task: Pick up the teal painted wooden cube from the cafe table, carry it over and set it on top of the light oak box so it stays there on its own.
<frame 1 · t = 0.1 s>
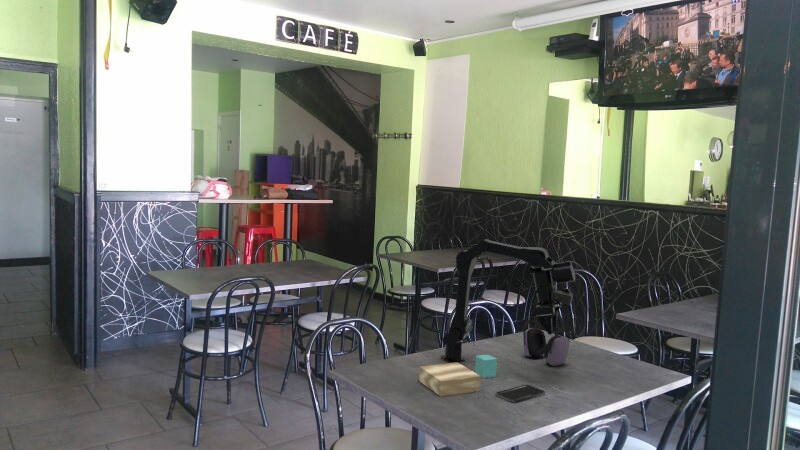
hand: (552, 331, 193), 15 cm above the table, tool pointing down, fingers open, 9 cm apart
headphones: (544, 361, 212), on the table
oak box: (448, 386, 181), on the table
phone: (520, 396, 176), on the table
teal cube: (485, 374, 193), on the table
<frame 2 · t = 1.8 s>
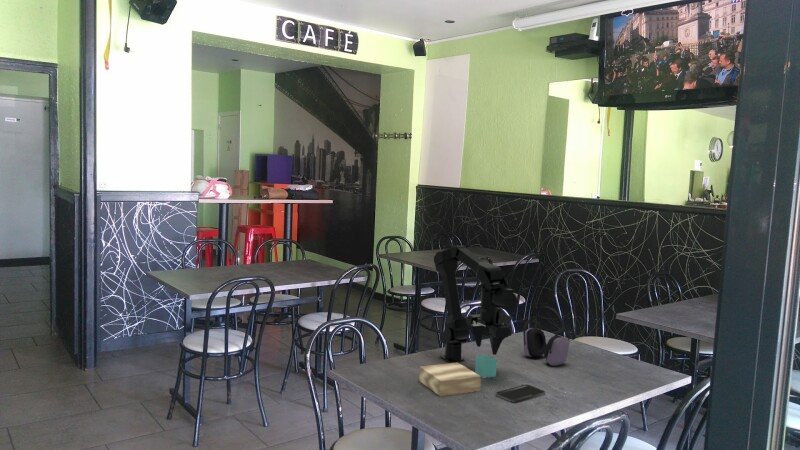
hand: (486, 350, 193), 8 cm above the table, tool pointing down, fingers open, 9 cm apart
nothing on the table moved.
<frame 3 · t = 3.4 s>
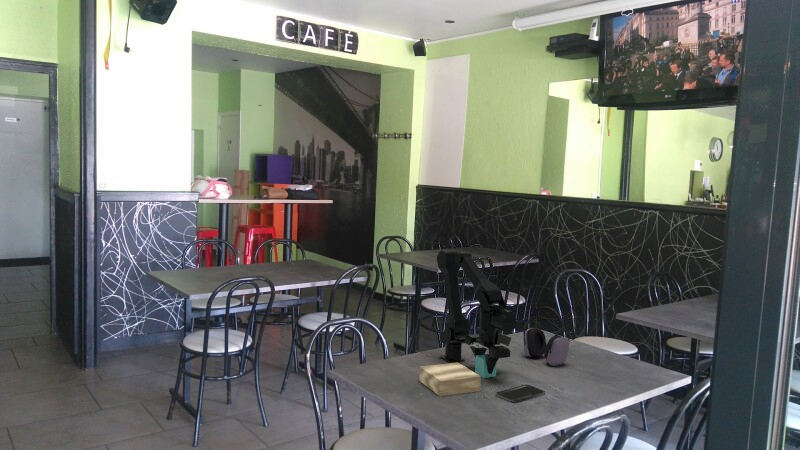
hand: (485, 371, 193), 1 cm above the table, tool pointing down, fingers closed on teal cube, 5 cm apart
teal cube: (485, 374, 193), on the table, touching gripper
everything else where it was.
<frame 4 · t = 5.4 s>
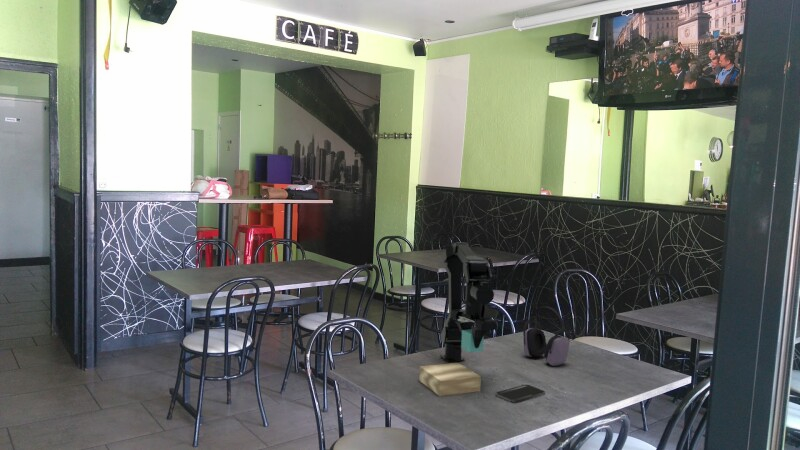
hand: (472, 345, 187), 11 cm above the table, tool pointing down, fingers closed on teal cube, 5 cm apart
teal cube: (471, 349, 187), point 10 cm above the table, touching gripper
everything else where it was.
when the fingers open (8 cm above the table, at t = 7.3 s): teal cube drops 2 cm, resting on oak box.
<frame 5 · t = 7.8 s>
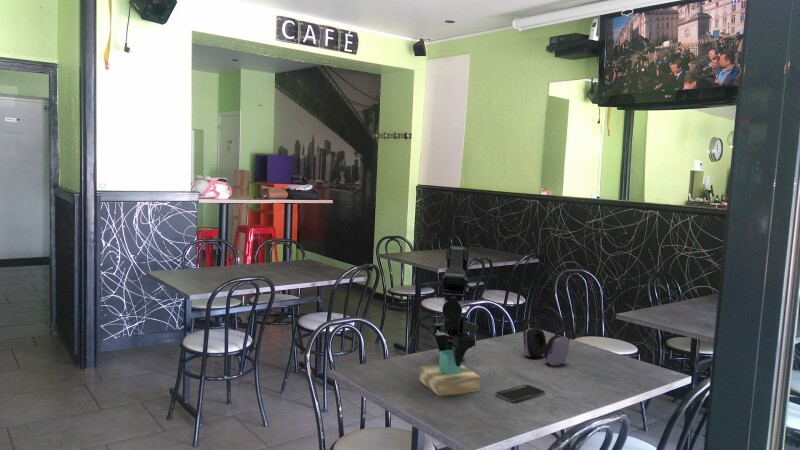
hand: (450, 361, 181), 8 cm above the table, tool pointing down, fingers open, 9 cm apart
oak box: (448, 387, 181), on the table, touching teal cube
teal cube: (449, 371, 181), point 5 cm above the table, touching oak box
everything else where it was.
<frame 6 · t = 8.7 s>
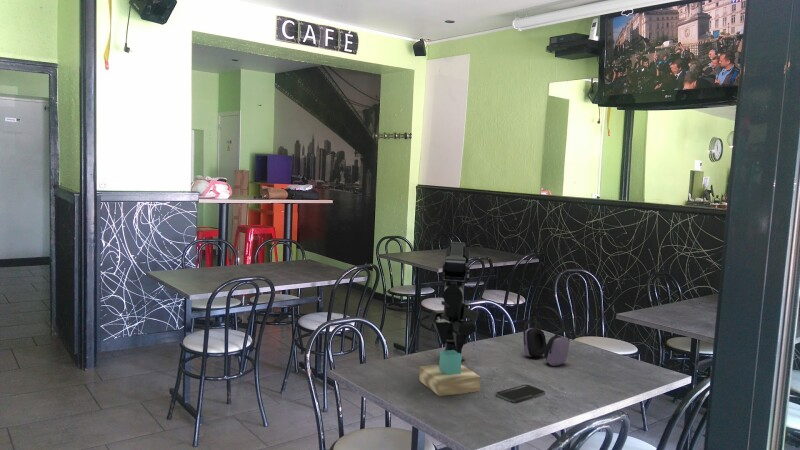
hand: (451, 348, 180), 12 cm above the table, tool pointing down, fingers open, 9 cm apart
nothing on the table moved.
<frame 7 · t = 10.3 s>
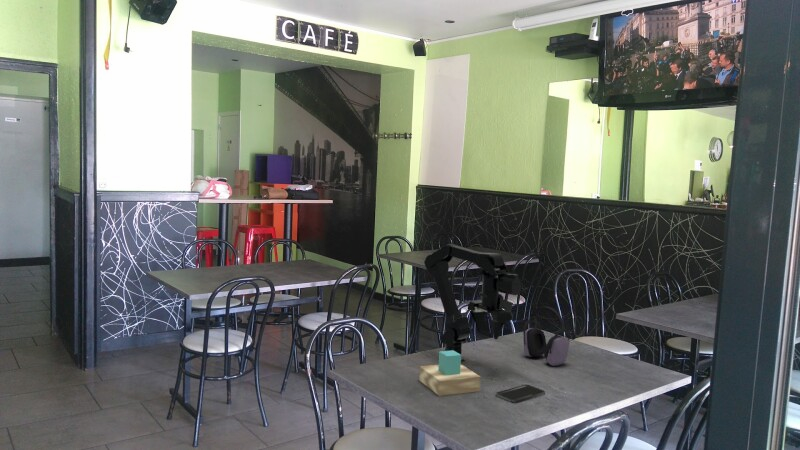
hand: (488, 335, 197), 12 cm above the table, tool pointing down, fingers open, 9 cm apart
nothing on the table moved.
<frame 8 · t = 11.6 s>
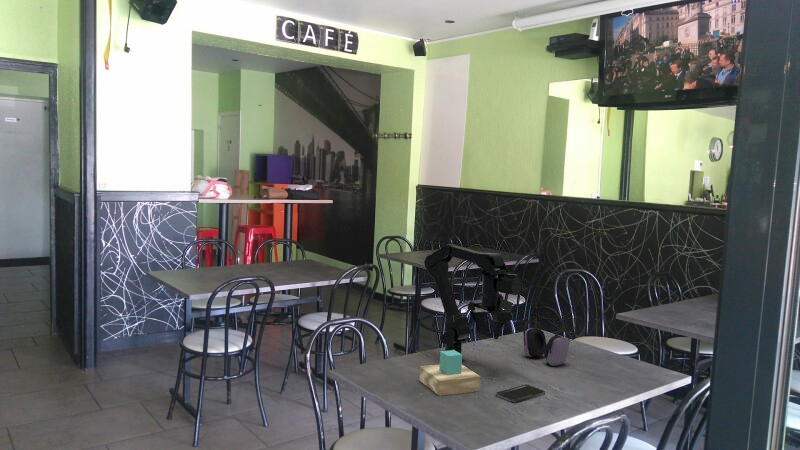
hand: (488, 335, 197), 12 cm above the table, tool pointing down, fingers open, 9 cm apart
nothing on the table moved.
at the end: teal cube inside the target area on the oak box (0.6 cm from its centre), point 5.0 cm above the oak box's base; teal cube tilted 0°; the gripper is holding nothing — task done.
